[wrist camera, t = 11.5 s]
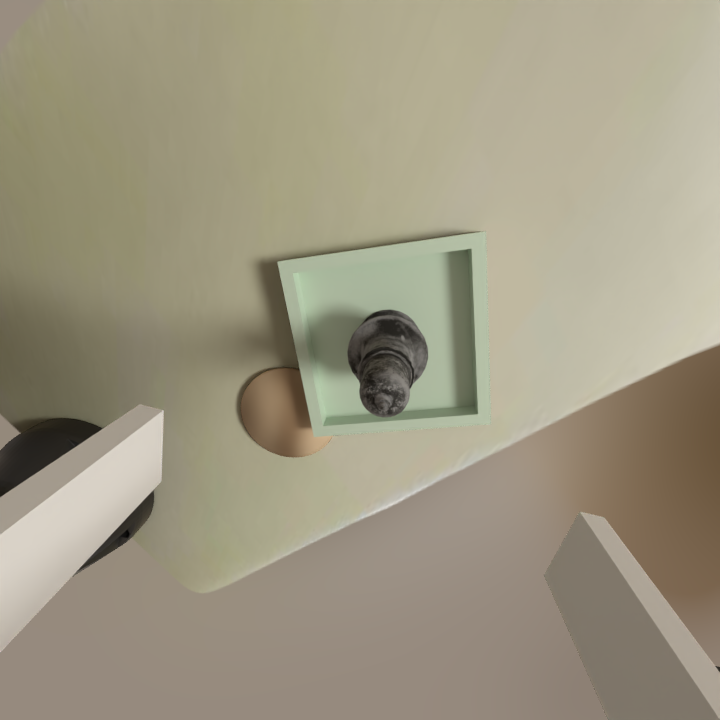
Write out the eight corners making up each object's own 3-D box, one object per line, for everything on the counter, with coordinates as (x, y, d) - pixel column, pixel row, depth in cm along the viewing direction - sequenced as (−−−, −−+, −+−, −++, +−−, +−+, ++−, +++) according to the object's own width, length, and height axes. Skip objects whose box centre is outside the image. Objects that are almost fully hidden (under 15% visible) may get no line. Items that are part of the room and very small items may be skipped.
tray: (318, 424, 33) (313, 437, 31) (285, 259, 28) (277, 261, 26) (485, 412, 31) (491, 424, 29) (479, 231, 26) (485, 231, 24)
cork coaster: (255, 457, 35) (253, 459, 35) (232, 372, 32) (229, 374, 32) (344, 451, 34) (344, 454, 33) (328, 362, 31) (327, 364, 30)
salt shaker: (372, 385, 31) (359, 473, 19) (340, 325, 29) (304, 383, 18) (436, 356, 29) (461, 433, 18) (405, 292, 28) (411, 332, 16)
